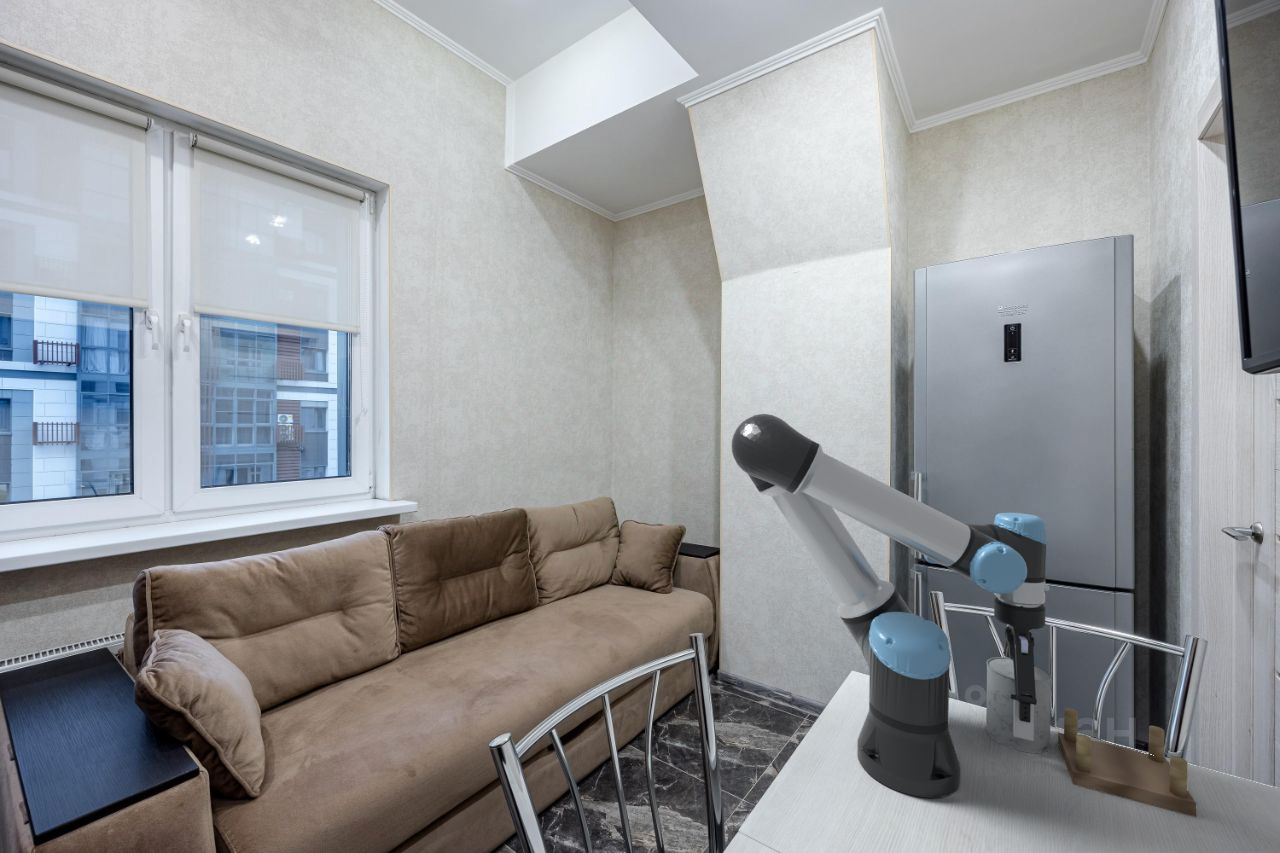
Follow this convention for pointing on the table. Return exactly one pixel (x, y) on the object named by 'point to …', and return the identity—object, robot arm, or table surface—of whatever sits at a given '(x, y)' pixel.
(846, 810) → the table surface
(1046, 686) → the grey marbled cylinder
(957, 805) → the table surface
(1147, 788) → the peg stand
